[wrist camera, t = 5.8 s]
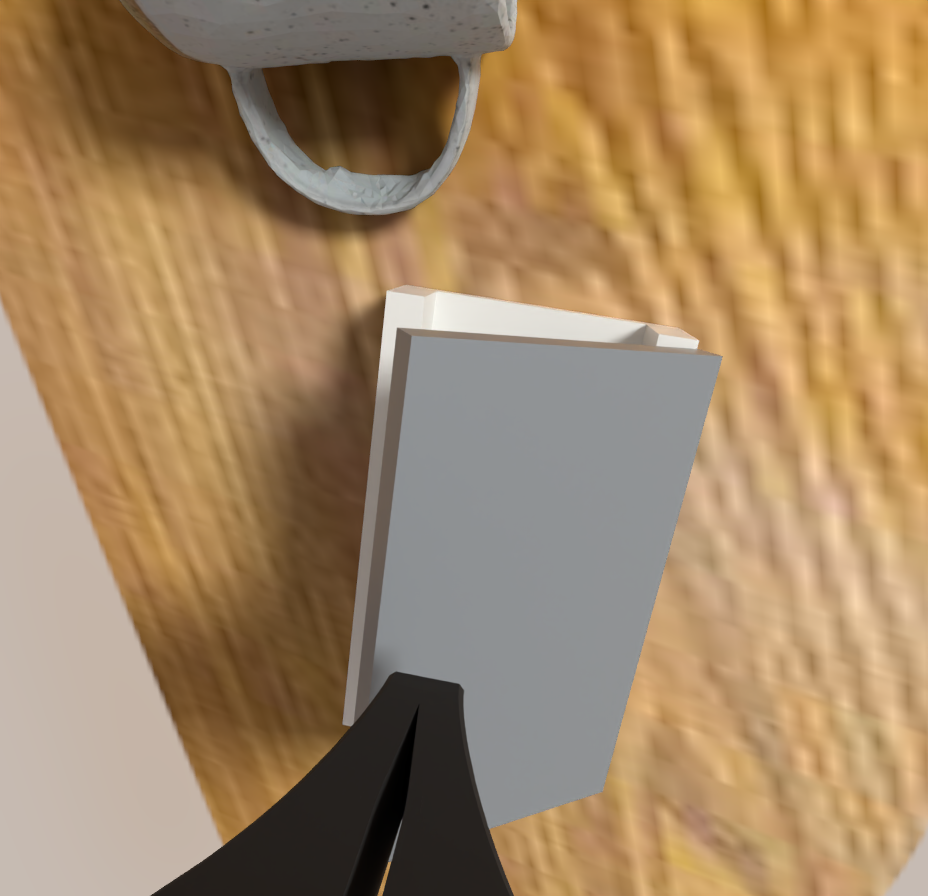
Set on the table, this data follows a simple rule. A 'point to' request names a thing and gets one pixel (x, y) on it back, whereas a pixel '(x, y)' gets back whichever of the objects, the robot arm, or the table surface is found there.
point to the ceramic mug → (321, 41)
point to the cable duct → (469, 316)
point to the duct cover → (528, 542)
